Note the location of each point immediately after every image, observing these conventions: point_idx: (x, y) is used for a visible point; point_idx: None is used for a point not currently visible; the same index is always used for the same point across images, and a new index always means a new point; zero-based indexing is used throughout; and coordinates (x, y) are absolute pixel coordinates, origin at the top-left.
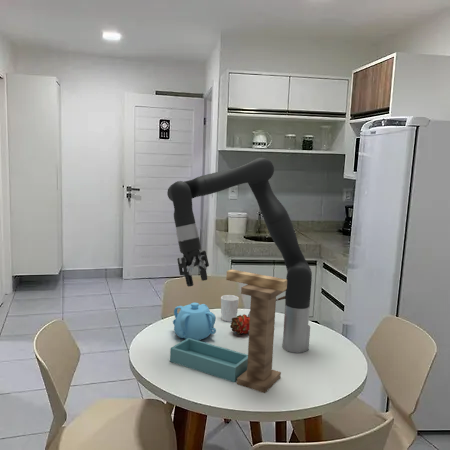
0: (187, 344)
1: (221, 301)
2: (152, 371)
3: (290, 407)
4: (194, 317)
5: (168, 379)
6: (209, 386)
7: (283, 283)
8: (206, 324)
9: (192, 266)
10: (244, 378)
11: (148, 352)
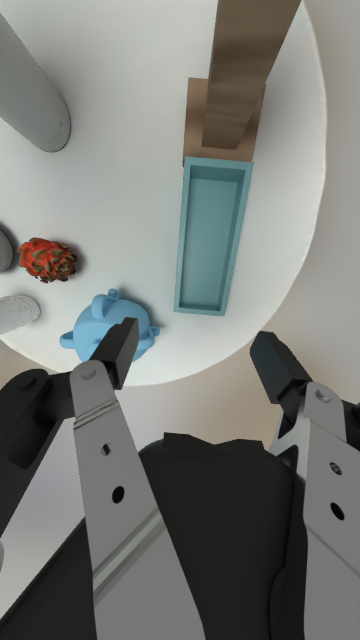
0: (183, 306)
1: (4, 331)
2: (256, 314)
3: None
4: None
5: (269, 283)
6: (269, 215)
7: None
8: (118, 306)
9: (335, 453)
10: (246, 150)
11: (207, 348)
